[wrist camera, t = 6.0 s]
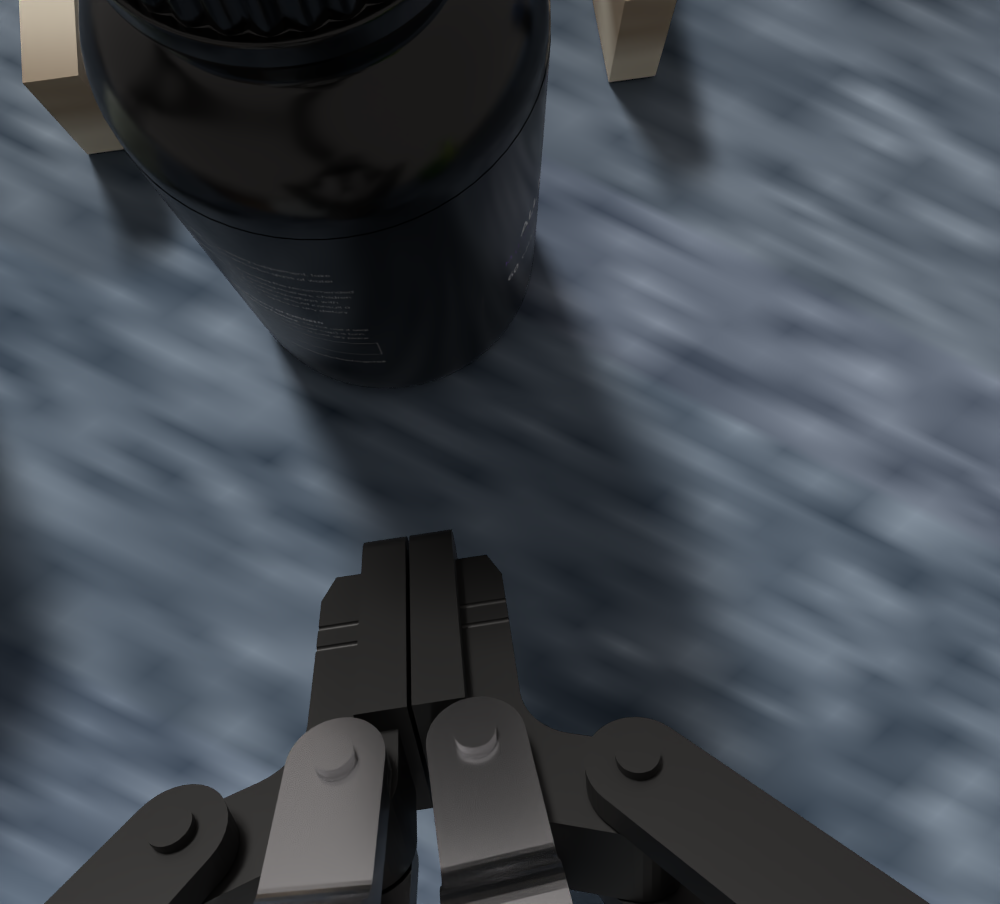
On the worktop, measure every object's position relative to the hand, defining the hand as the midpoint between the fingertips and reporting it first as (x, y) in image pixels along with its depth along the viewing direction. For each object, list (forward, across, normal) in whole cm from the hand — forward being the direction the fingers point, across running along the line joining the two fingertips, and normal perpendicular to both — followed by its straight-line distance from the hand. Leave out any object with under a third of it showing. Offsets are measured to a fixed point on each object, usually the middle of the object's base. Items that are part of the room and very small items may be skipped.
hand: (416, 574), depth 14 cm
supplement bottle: (+9, 0, -2) cm, 9 cm away
